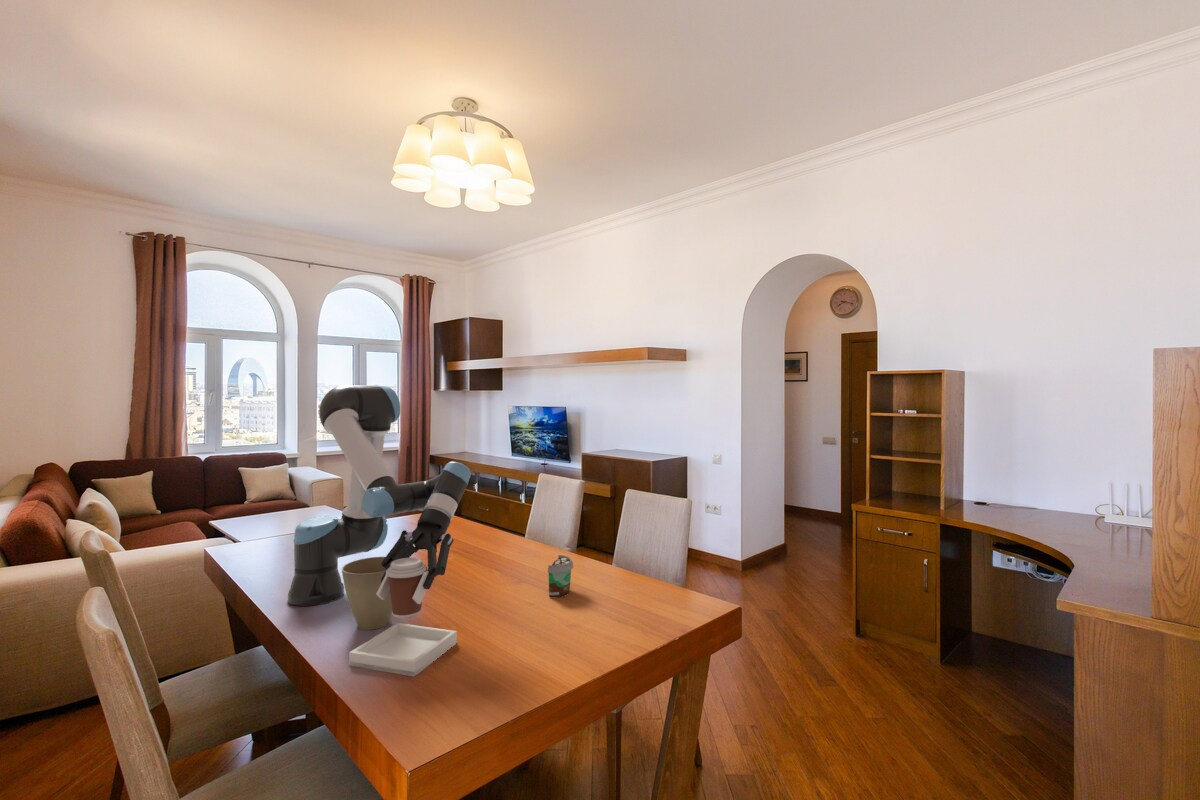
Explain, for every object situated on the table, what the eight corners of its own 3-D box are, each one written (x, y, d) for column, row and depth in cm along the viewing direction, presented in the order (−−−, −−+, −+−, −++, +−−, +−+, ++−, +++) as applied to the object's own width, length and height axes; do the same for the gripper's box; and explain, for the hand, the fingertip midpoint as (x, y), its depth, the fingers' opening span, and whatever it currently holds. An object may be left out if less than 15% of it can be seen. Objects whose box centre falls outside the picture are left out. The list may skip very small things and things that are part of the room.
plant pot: (358, 613, 155) (358, 556, 155) (410, 613, 154) (410, 556, 154) (330, 636, 140) (330, 573, 140) (388, 637, 139) (388, 573, 139)
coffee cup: (427, 617, 127) (426, 565, 127) (384, 622, 124) (384, 569, 124) (427, 603, 135) (427, 554, 135) (387, 608, 133) (387, 558, 133)
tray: (349, 665, 124) (349, 652, 124) (397, 634, 141) (397, 622, 141) (414, 676, 120) (414, 662, 120) (456, 643, 136) (456, 631, 136)
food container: (567, 600, 164) (567, 567, 164) (547, 599, 165) (547, 565, 165) (577, 586, 176) (577, 555, 176) (559, 585, 178) (559, 554, 178)
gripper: (480, 526, 141) (446, 611, 126) (407, 521, 148) (366, 602, 132) (469, 509, 136) (432, 596, 121) (394, 505, 143) (350, 587, 127)
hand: (398, 599), depth 127 cm, fingers closed on coffee cup, 9 cm apart
